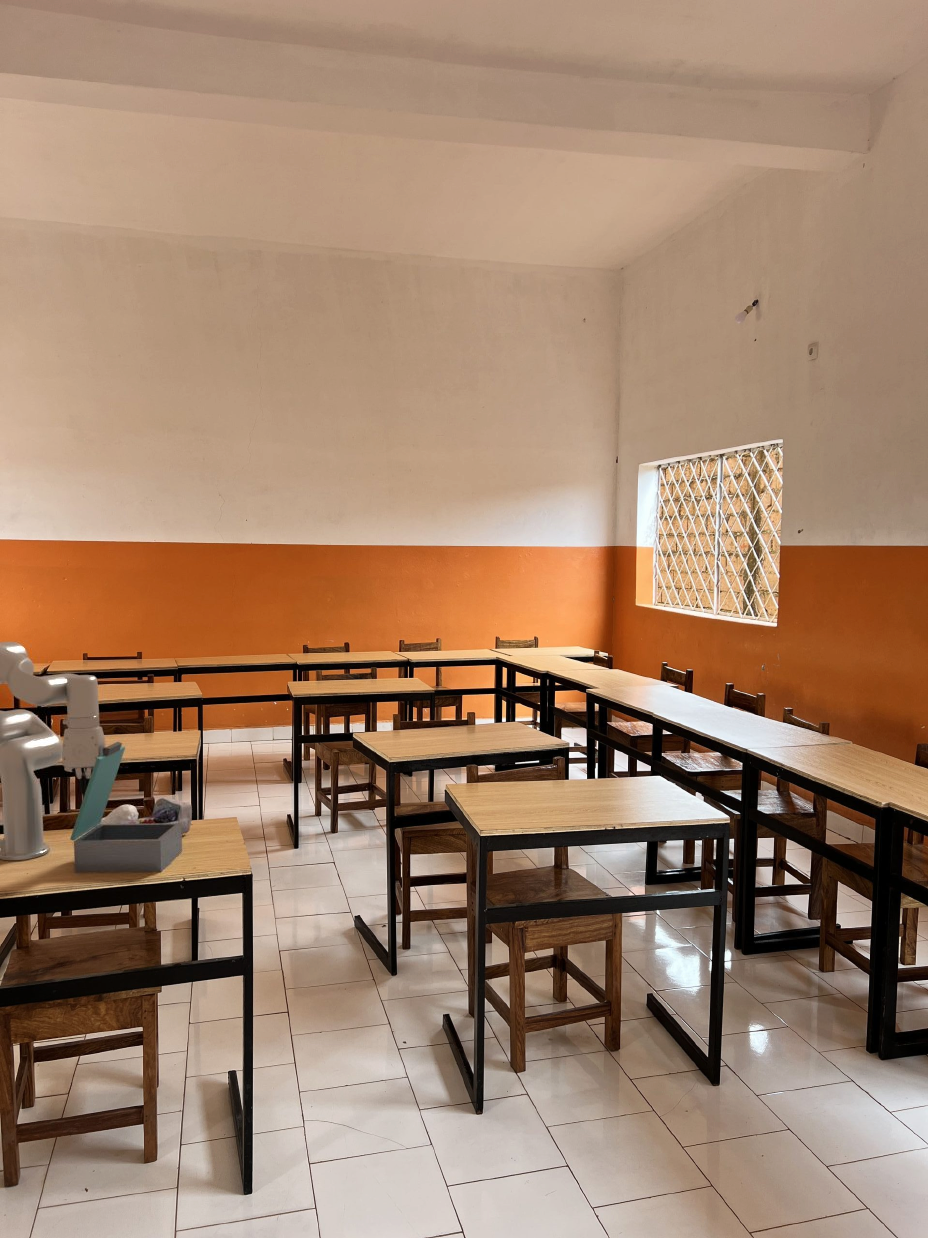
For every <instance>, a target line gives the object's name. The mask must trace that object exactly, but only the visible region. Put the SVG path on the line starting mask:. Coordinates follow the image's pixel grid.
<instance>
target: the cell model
mask: <svg viewBox="0 0 928 1238" xmlns="http://www.w3.org/2000/svg"><path fill="white" fill-rule="evenodd" d="M192 809H193V808H192V804H191V803H189V802H185V801H181V800H177V799H174V798H173V799H172V798H166V797H161V798H159V799H157V800H156V801H155V802H154V806H153V812H152V814H151V815H150V816H147V817H142V818H141V817H140V818H137V819H135V820H130V821H126V822H121V823H119V824H154V823H181V831H182V835H183V834H187V833H188V832H189V831H190V828H191V826H192V825H191V824H192V813H193V810H192Z"/></svg>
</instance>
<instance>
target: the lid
mask: <svg viewBox="0 0 928 1238" xmlns="http://www.w3.org/2000/svg"><path fill="white" fill-rule="evenodd" d="M125 750H126V746H124V745H123V743H122V742H120V741H116V742H114V743H111V744H110V745H108V746H106V747H105V750H104V753H103V755H102V756H100V757H98V758H97V759H96V762H95V765H94V768H93V771H92V774H91V777H90V780H89V783H88V787H87V790H86V793H85V794H84V796H83V800H82V802H81V805H80V808H79V812H78V814H77V817H76V821H75V824H74V827H73V830H72V833H71V835H70V839H69V840H70V841H73V842H74V841H75V840H77V839H78V838H80V837H81V836H83V835H85V834H86V833H88V832H89V831H91V830H92V829H94V828H95V827H97V825H98V824H100V823H101V820H102V818H104V817H103V816H104V814H105V810H106V807H107V804H108V802H109V798H110V795H111V792H112V789H113V785H114V782H115V780H116V777H117V774H118V770H119V769H120V768H119V767H120V764H121V762H122V758H123V756H124V752H125Z"/></svg>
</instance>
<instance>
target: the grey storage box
mask: <svg viewBox="0 0 928 1238" xmlns="http://www.w3.org/2000/svg"><path fill="white" fill-rule="evenodd" d="M182 835H183V834H182V831H181V823H154V824H100V825H98V826H95V827H94V828H92V829H91V830H89V831H88V832H86V833H85V834H83V835H82V836H80V837H79V838H77V839H76V840H74V841H73V852H74V853H73V855H74V873H75V874H77V873H80V874H82V873H85V874H87V873H88V874H89V873H91V874H92V873H96V874H97V873H162V872H163V871H164V870H166V868H167V867H169V866H170V865H171V863H173V862H172V861H173V860H174V859H175V858H176V857H177V856H178V855H179V854H180V853H181V852H182V853H183V842H182V841H183V838H182V837H183V836H182ZM182 853H181V854H182ZM181 854H180V855H181ZM180 855H179V856H180ZM179 856H178V857H179ZM178 857H177V858H178ZM177 858H176V859H177ZM176 859H175V860H176ZM175 860H174V861H175Z"/></svg>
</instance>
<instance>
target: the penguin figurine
mask: <svg viewBox="0 0 928 1238" xmlns="http://www.w3.org/2000/svg"><path fill="white" fill-rule="evenodd" d="M135 819H139V812H138V810H137V807H136V806H134V805H131V804H123V805H120V806H118V807H116V808H114V809H113V810H112V811H111V812H110V813H109V814H108V815H107V816H105V817H102V820H101V823H100V824H119V823H121V822H126V821H130V820H135ZM100 824H98V825H100ZM98 825H97V826H98ZM97 826H96V827H97Z"/></svg>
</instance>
